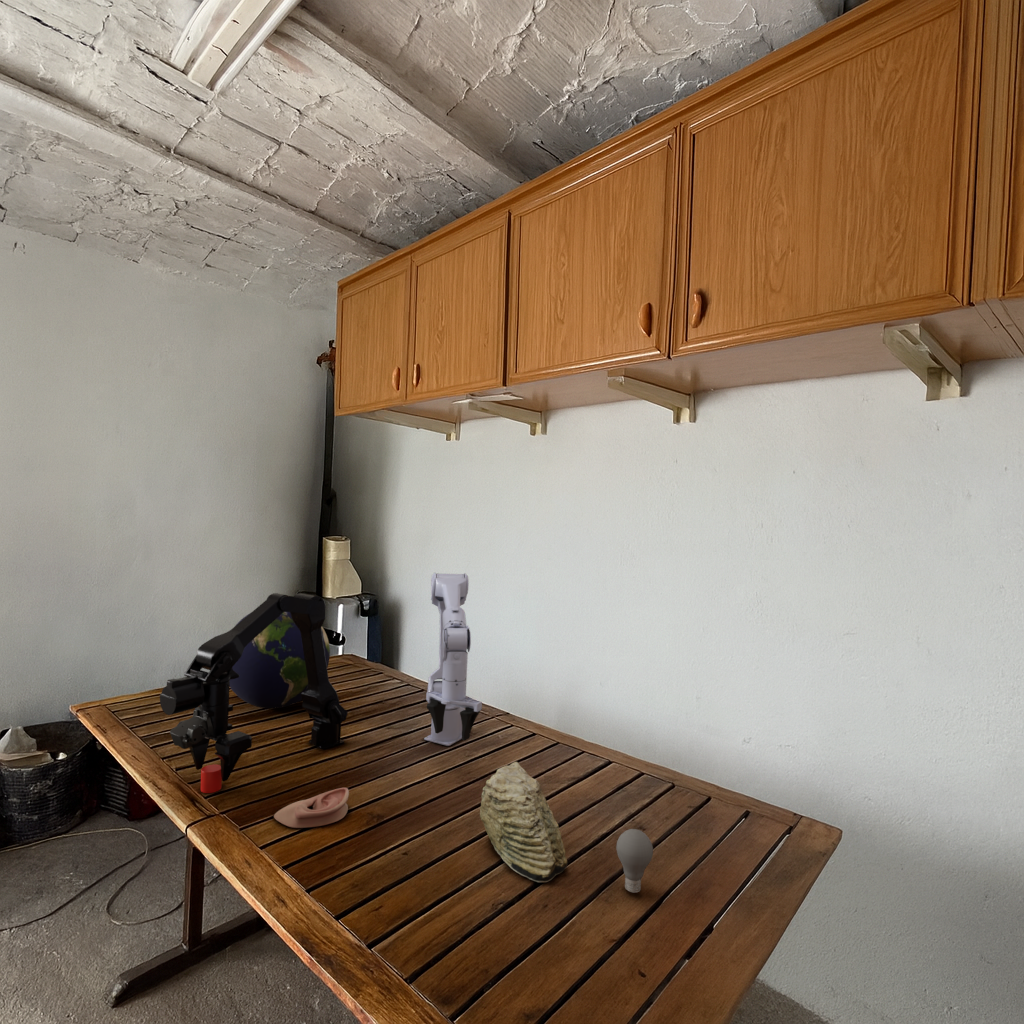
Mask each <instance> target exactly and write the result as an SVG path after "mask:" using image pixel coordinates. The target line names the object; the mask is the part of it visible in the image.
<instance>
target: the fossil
mask: <svg viewBox="0 0 1024 1024" xmlns="http://www.w3.org/2000/svg"><path fill="white" fill-rule="evenodd" d="M479 819H480V820H481V822H482V823H483V827H484V829H485V832H486V833H487V836H488V838H489V840H490V842H491V844H492V845H493V848H494V850H495V852H496V853H497V854H498V856H500V858H501V859H502V861H503V862H504V863H505V864H506V865H507V867H509V868H510V869H511V870H513V871H514V873H517V874H519V875H520V876H522V877H525V878H527V879H528V880H531V881H533V882H536V883H548V882H550V881H552V880H553V879H554V878H555V877H556V876H557V875H560V874H561V873H563V872H564V871H565V870H566V868H567V867H568V866H569V863H568V859H567V856H566V848H565V847H564V841H563V838H562V834H561V831H560V826H559V824H558V822H557V821H556V818H555V817H554V813H553V811H552V810H551V807H550V805H549V803H548V802H547V799H546V796H545V794H544V790H543V789H542V786H541V784H540V781H539V780H537V779H535V778H533V777H532V776H531V775H529V773H528V772H527V771H526V769H524V768H523V766H521V764H520V763H519V762H518V761H513V762H512V763H511V764H509V765H507V764H506V765H504V766H502V767H500V768H498V769H497V770H496V772H495V773H494V774H492V775H491V776H490V778H489V779H487V780H486V782H485V786H483V788H482V792H481V802H480V808H479Z"/></svg>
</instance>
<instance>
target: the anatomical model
mask: <svg viewBox="0 0 1024 1024" xmlns="http://www.w3.org/2000/svg"><path fill="white" fill-rule="evenodd" d="M349 795H350V791H349V788H347V787H339V788H336V789H332V790H328V791H325V792H323V793H319V794H317V795H314V796H312V797H310V798H307V799H301V800H299V801H295V802H293V803H289V804H288V805H286V806H284V807H282V808H281V809H279V810H278V811H276V812H275V813H274V815H273V818H274V819H275V820H276V821H277V822H279V823H281V824H282V825H284V826H287V827H289V828H293V829H303V828H315V827H321V826H326V825H330V824H333V823H335V822H338V821H340V820H342V819H343V818H345V816H346V815H347V813H348V810H349V805H348V803H347V802H348V799H349Z"/></svg>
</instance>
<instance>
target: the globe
mask: <svg viewBox="0 0 1024 1024" xmlns="http://www.w3.org/2000/svg"><path fill="white" fill-rule="evenodd" d="M249 614H250V613H248V614H246V615H245V616H243V618H241V619H240V620H239V621H238V622H237V623H235V625H234V627H235V626H236V625H237V624H238V623H240V622H241V621H242V620H243V619H244V618H245V617H247V616H248V615H249ZM321 631H322V638H323V645H324V651H325V658H326V665H327V669H328V667H329V663H330V656H331V655H330V654H331V650H330V649H331V648H330V641H329V638H328V635H327V633H326V631H325V629H324V627H323V626H322V627H321ZM232 669H233V670H234V671H235V672H236V673H237V674H239V677H238V678H235V679H231V680H230V687H229V689H230V690H231V691H232V692H233V693H234V694H235V695H236V696H237V697H238V698H239V699H240V700H242V701H244V702H245V703H247V704H248V705H251V706H254V707H258V708H262V709H282V708H285V707H289V706H293V705H295V704H298V703H299V702H301V701H302V697H301V693H302V692H305V691H306V689H307V686H308V678H307V671H306V665H305V658H304V652H303V645H302V639H301V632H300V630H299V629H298V627H297V626H296V624H295V623H294V621H293V620H292V617H291V614H290V612H286V611H285V612H284V613H282V614H281V615H280V616H279V617H278V618H277V619H276V620H275V621H273V622H272V623H271V624H270V625H269V626H268V627H267V628H265V629H264V630H263V631H262V632H261V633H260V634H259V635H258V636H256V637H255V638H254V639H253V640H252V641H251V642H250V643H249V644H248V645H247V646H246V647H245V648H244V650H243V653H242V656H241V658H240V659H239V660H238V661H237V662H236V663H235V665H234V666H233V667H232Z"/></svg>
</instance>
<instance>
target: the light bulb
mask: <svg viewBox="0 0 1024 1024" xmlns="http://www.w3.org/2000/svg"><path fill="white" fill-rule="evenodd" d="M615 849H616V854H617V857H618V859H619V861H620V863H621V865H622V867H623V873H624V874H623V875H624V876H625V878H624V888H625V890H627V891H628V892H630V893H634V894H635V893H639V892H640V891H641V889H642V887H641V886H642V879H643V877H644V875H645V871H646V868H647V867H648V866H649V864H650V863H651V861H652V859H653V855H654V847H653V843H652V841H651V838H649V836H648V835H647V834H646V833H645V832H643V831H642V830H641V829H636V828H629V829H627V830H625V831H623V832H622V833H621V834H620V835H619V837H618V839H617V841H616V847H615Z"/></svg>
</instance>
